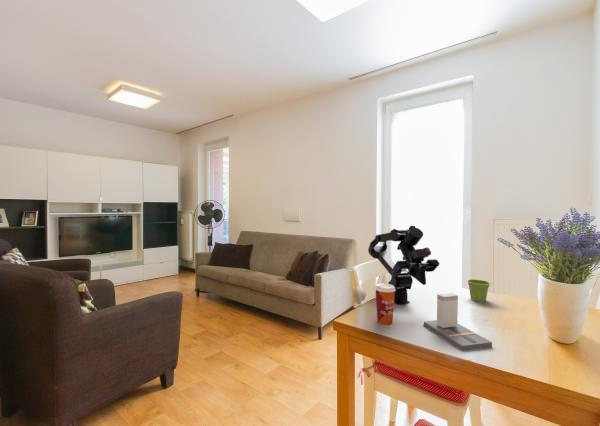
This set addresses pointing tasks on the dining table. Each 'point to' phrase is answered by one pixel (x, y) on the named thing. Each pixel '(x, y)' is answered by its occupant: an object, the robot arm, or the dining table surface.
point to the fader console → (459, 336)
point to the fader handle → (447, 310)
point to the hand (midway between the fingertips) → (424, 284)
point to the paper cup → (385, 303)
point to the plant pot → (478, 289)
